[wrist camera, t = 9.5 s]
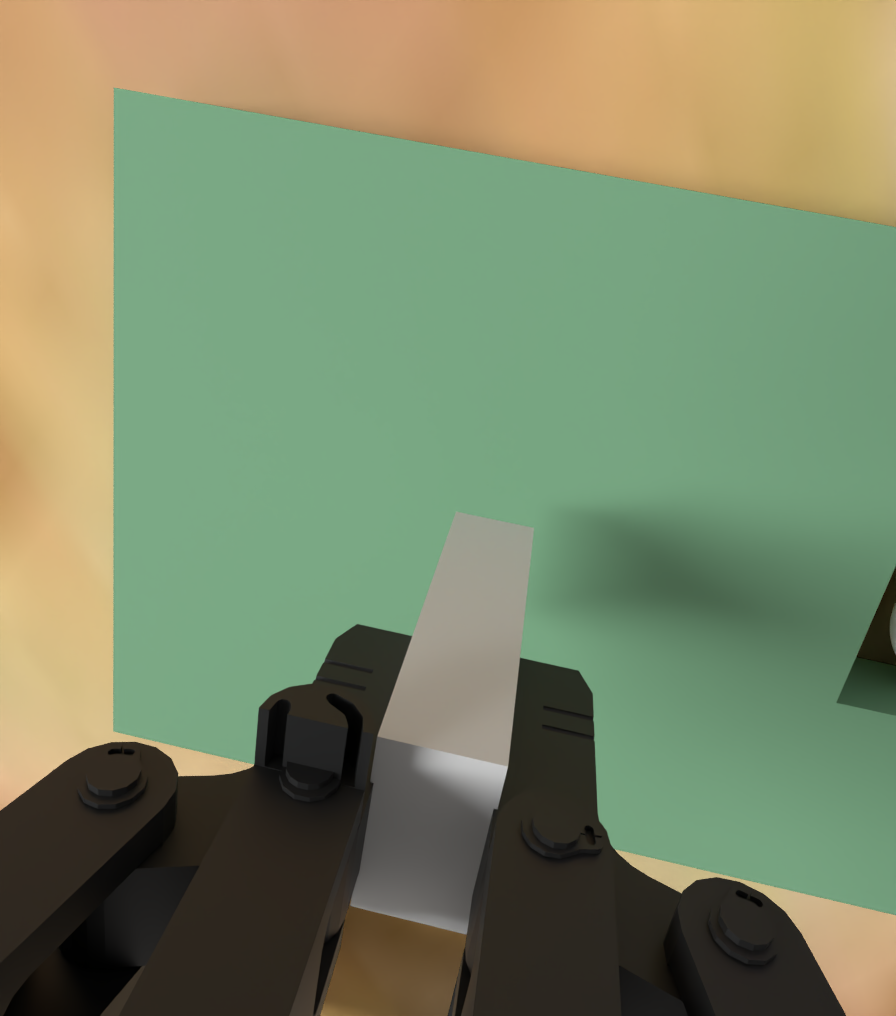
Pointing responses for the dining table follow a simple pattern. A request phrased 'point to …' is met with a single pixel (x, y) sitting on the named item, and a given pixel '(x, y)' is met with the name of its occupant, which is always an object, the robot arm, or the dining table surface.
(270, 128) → the green
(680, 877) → the dining table surface
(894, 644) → the ball
